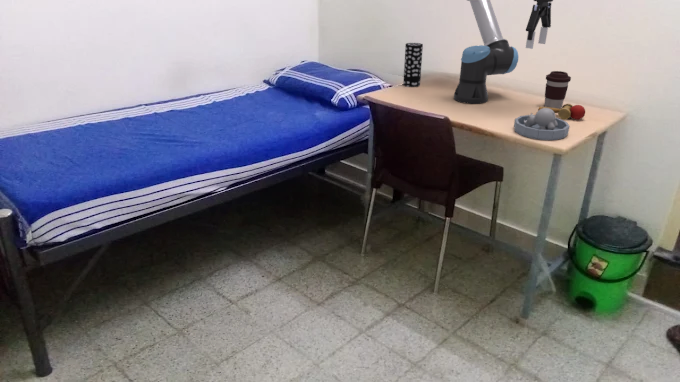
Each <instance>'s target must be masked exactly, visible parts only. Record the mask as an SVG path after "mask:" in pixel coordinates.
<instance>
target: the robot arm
mask: <svg viewBox="0 0 680 382" xmlns="http://www.w3.org/2000/svg"><path fill="white" fill-rule="evenodd" d="M466 1H468V2H470V5H471V9H472V12H473V15H474V18H475V21H476V24H477V27H478V29H479V32H480V33H479V34H480V37H481V39H482V43H483V45H482V44H480V45H471V46H468V47H466V48H464V49H463V51H462V55H461V59H460V60H461V63H460V73H459V81H458V84H457V87H456V89H455V92H454V94H453V99H454V101H456V102H458V103H459V102H460V103H463V104H470V105H473V104H474V105H478V104H479V105H480V104H484V103H486V102H488V99H489V92H488V89H487V76H495V75H505V74H509V73H512V72H513V71H515V69H516V67H518V62H519V53H518V52H519V51H518V50H517V48H516V47H514V46H512V45H511V46H510V44H509V41H508V40H507V39H506V38H504V37H503V35H502V31H501V28H500V26H499V23H498V19H497V17H496V14H495V10H494V7H493V4H492V2H491V0H466ZM553 1H554V0H533V2H536V4H533V5H532V8H531V12H530V16H529V19H528V22H527V25H526V28H525V31H526V32H527V35H526V43H525V49H531V50H532V49H533V48H534V42H535V37H536V29H537V26H538V24H539V22H540V21H541V27H540V31H539V36H538V37H539V38H538V44H540V45H541V44H542V45H546V41H547V36H548V30H549V28H551V27H552V25H551V24H552V18H551V17H552V2H553Z"/></svg>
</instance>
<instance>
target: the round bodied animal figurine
mask: <svg viewBox="0 0 680 382" xmlns="http://www.w3.org/2000/svg"><path fill="white" fill-rule="evenodd" d="M527 115H528V118H527V120H526V121H525V120H524V123H525V126H526V127H532V126H533V125H536V124H538V125H539V126H540V128H539V129H540V130H547V129H548V130H554V129H555V127H557V126H558V123H557V121H556V120H555V118H557V117H556V116H557V115H556V113H554V111H553V110H551V109H549V108H542V109H540V110H539V111H538V110H537V112H536V114H533V113H532V112H531V113H530V114H527Z"/></svg>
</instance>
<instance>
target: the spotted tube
mask: <svg viewBox="0 0 680 382" xmlns="http://www.w3.org/2000/svg"><path fill="white" fill-rule="evenodd" d="M404 47H405V48H404V49H405V50H404V66H403V67H404V68H403V82H402V83H403V84H402V85H403V86H404V87H407V88H418V87H420V86H421V77H422V76H421V75H422V62H423V61H422V60H423V49H424V47H423V43H419V42H407V43H405V46H404Z"/></svg>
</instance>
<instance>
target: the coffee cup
mask: <svg viewBox="0 0 680 382" xmlns="http://www.w3.org/2000/svg"><path fill="white" fill-rule="evenodd" d="M571 79H572V77H571V76H570V75H569V73H568V72H566V71H561V70H559V71H558V70H553V71H550V73H548V74H546V75H545V80H546V83H545V88H544V89H545V91H544V105H543V107H550V108H558V109H562V107H563V106H564V105H563V104H564V100H565V99H566V95H567V91H568V87H569V83H570V82H571Z"/></svg>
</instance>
